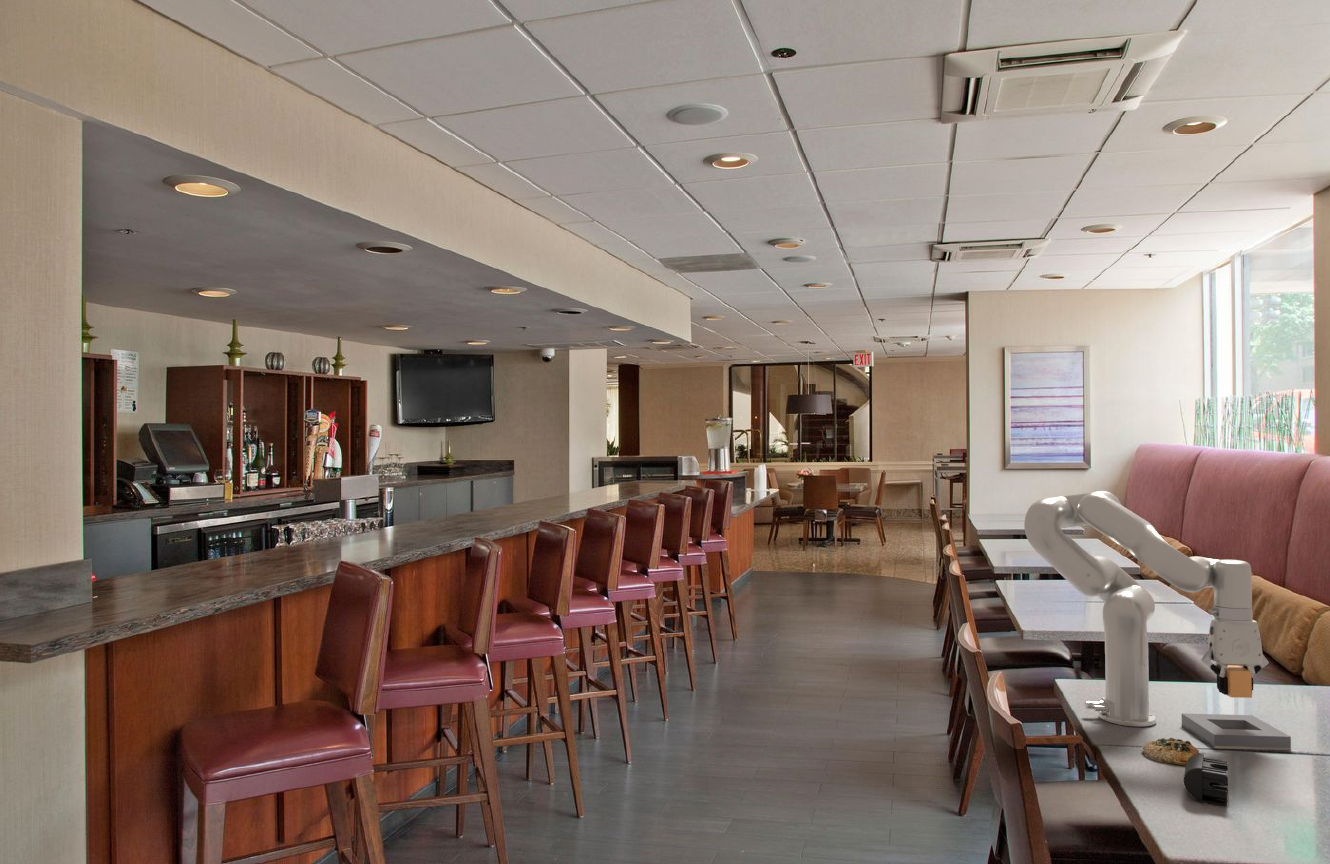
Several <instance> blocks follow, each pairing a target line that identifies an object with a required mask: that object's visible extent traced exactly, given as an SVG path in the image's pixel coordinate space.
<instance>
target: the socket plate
mask: <svg viewBox="0 0 1330 864" xmlns="http://www.w3.org/2000/svg"><path fill="white" fill-rule="evenodd" d="M1181 727H1182V728H1185V729H1186V730H1187V731H1188V732H1190V733H1191V734H1193V735H1195V736H1196V737H1197V738H1199V739H1201V740H1202V741H1203V742H1205V743H1206V744H1208V746H1210V747H1212V748H1214V749H1231V750H1233V749H1235V750H1239V749H1240V750H1267V751H1270V750H1271V751H1273V750H1274V751H1291V750H1292V749H1291V748H1292V738H1291V737H1292V736H1291V735H1289V734H1286V733H1285V732H1283V731H1281V730H1279V729H1277V728H1276V727H1274V726H1272V725H1271V724H1269V723H1267V722H1265V721H1263V720H1261V719H1260V718H1258V717H1256V716H1254V715H1253V714H1252V715H1251V714H1225V713H1224V714H1221V713H1220V714H1217V713H1216V714H1215V713H1212V714H1211V713H1181Z"/></svg>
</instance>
